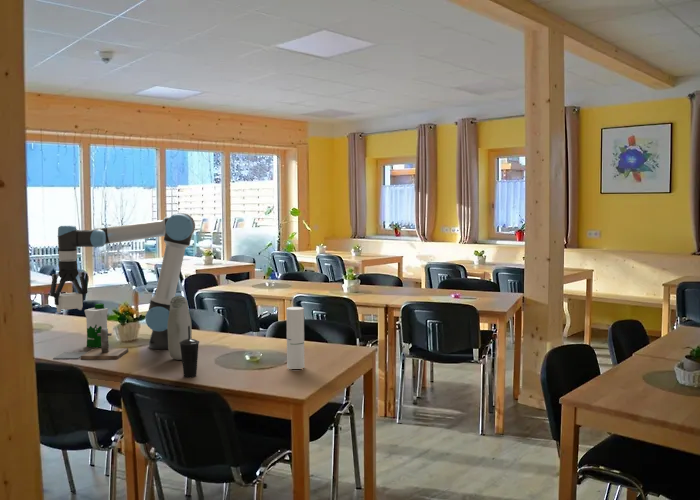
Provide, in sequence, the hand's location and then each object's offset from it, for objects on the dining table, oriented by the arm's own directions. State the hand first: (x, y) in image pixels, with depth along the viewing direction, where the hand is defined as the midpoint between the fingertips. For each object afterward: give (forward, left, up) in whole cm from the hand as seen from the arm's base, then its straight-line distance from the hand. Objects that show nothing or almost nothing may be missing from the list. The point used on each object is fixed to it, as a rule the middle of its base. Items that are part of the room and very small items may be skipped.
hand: (69, 310), depth 284 cm
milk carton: (-4, -20, -21) cm, 29 cm away
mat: (0, 0, -21) cm, 21 cm away
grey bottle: (-51, +7, -21) cm, 55 cm away
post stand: (-15, -1, -21) cm, 25 cm away
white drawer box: (0, 0, +1) cm, 1 cm away
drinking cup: (-62, +34, -21) cm, 74 cm away
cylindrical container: (-103, +23, -21) cm, 107 cm away
